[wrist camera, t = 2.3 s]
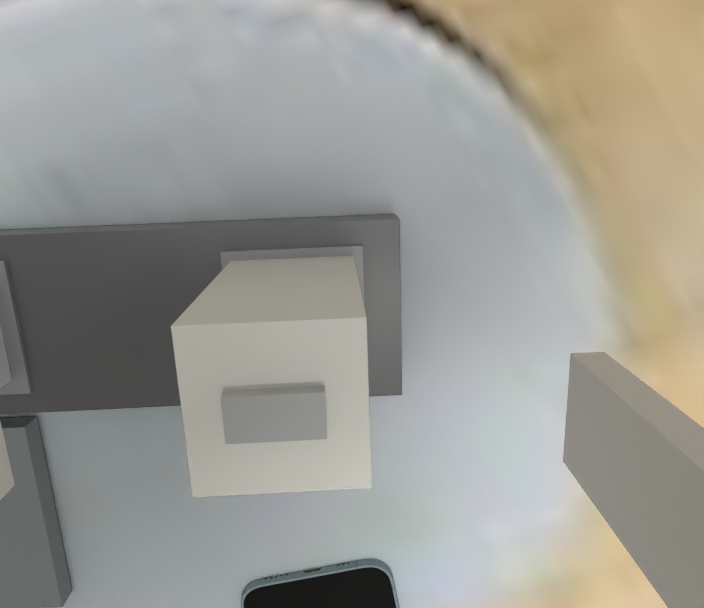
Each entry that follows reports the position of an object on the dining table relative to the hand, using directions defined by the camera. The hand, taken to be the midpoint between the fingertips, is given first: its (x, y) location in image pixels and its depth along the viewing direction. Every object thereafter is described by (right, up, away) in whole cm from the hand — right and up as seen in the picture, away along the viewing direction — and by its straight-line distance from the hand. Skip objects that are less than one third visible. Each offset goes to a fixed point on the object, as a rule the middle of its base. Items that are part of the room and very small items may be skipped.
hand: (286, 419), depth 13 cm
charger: (-1, +2, +8) cm, 9 cm away
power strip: (-10, +2, +10) cm, 14 cm away
